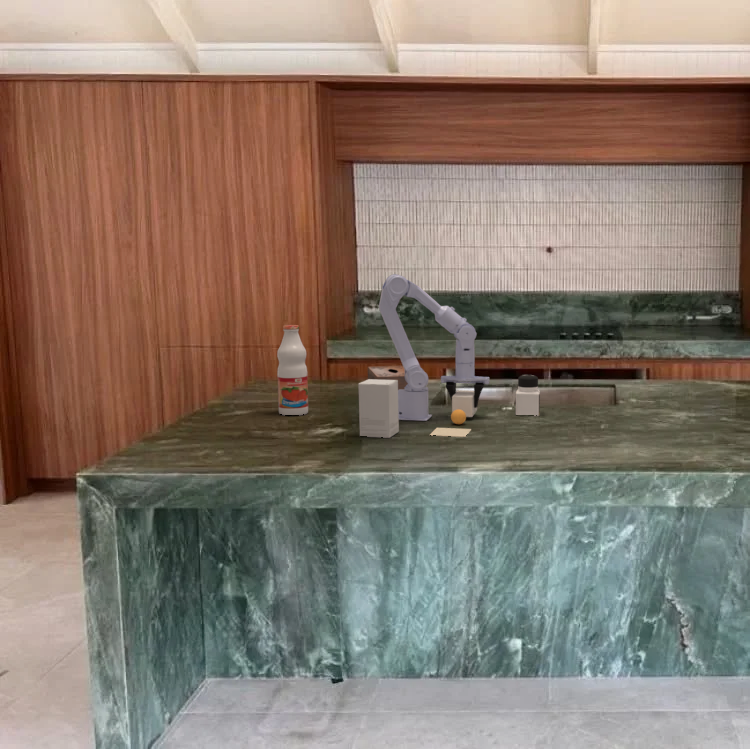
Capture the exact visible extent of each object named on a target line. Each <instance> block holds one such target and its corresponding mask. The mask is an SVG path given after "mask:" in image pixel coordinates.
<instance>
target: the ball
mask: <svg viewBox="0 0 750 749" xmlns="http://www.w3.org/2000/svg"><path fill="white" fill-rule="evenodd" d="M450 419H451V421H452V423H454V425H455V424H456V425H462V424H463V423H464V422H466V420H467V417H466V414H465V412H464V411H462V410H460V409H457V410H455V411H453V412H452V411H451V414H450Z"/></svg>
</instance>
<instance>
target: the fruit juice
mask: <svg viewBox="0 0 750 749" xmlns="http://www.w3.org/2000/svg"><path fill="white" fill-rule="evenodd" d="M282 329H283V330H282V331H283V337H282V340H281V343H280V346H279V348H278V349H277V354H276V355H277V356H276V357H277V360H278V366H277V399H278V403H277V404H278V413H279V415H280V414H282V415H281V416H285V415H299V416H303V414H304V415H307V414H308V413H309V388H308V367H307V365H306V359H307V350H306V348H305V346H304V344H303V342H302V339H301V336H300V334H299V330H300V327H299V325H298V324H284V325H283V327H282Z"/></svg>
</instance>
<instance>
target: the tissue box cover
mask: <svg viewBox="0 0 750 749" xmlns="http://www.w3.org/2000/svg"><path fill="white" fill-rule="evenodd" d="M368 379H377V380H398V390H399V389H404V387H406V385H407V384H408V383H407V382H406V380H405V370H404V367H403V365H384V366H383V365H381V366H379V365H377V366H375V365H374V366H367V380H368Z"/></svg>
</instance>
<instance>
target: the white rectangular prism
mask: <svg viewBox="0 0 750 749" xmlns="http://www.w3.org/2000/svg"><path fill="white" fill-rule="evenodd" d="M474 399H475V395H474V390H465V389H464V390H463V389H461V390H460V389H458V390H456V393H455V394H454V395H453V396H452V401H451V413H452V412H453V411H455V410H457V409H460V410H462V411H464V412H465V414H466V418H473V416H474V415H475V414H476V412H477V411H478V407H477V408H474Z"/></svg>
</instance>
